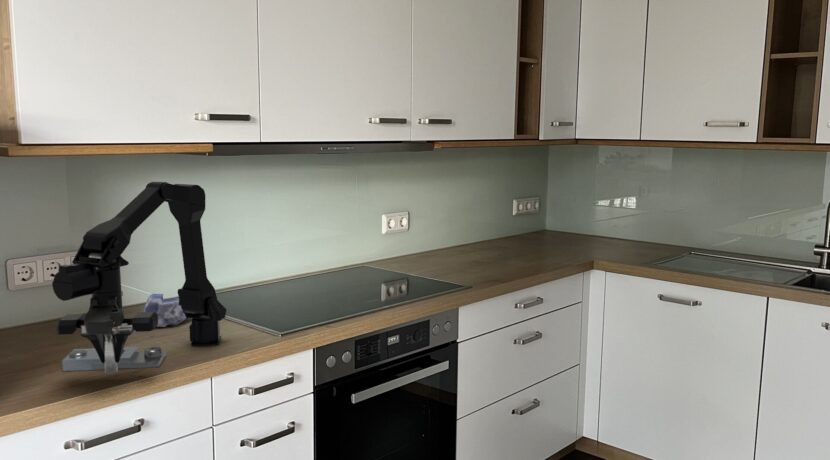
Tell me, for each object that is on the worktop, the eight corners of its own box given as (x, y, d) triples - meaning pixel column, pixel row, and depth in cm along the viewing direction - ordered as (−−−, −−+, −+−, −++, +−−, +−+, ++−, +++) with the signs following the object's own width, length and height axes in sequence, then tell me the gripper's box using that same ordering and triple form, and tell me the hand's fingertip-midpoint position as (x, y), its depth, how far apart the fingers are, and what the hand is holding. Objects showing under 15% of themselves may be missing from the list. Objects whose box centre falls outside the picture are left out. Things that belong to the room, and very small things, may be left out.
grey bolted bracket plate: (165, 355, 163) (165, 343, 163) (158, 367, 155) (158, 354, 155) (74, 359, 160) (74, 347, 160) (62, 371, 152) (62, 358, 152)
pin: (119, 369, 148) (116, 328, 147) (116, 373, 146) (113, 332, 144) (106, 370, 148) (104, 329, 146) (103, 374, 145) (100, 332, 144)
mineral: (144, 298, 180) (136, 288, 188) (141, 333, 181) (133, 322, 189) (200, 298, 187) (190, 288, 196) (197, 331, 189) (187, 320, 197)
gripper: (43, 301, 135) (49, 378, 137) (144, 298, 138) (148, 373, 140) (63, 287, 146) (68, 359, 148) (156, 285, 149) (160, 355, 151)
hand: (110, 362), depth 146 cm, fingers closed on pin, 2 cm apart
